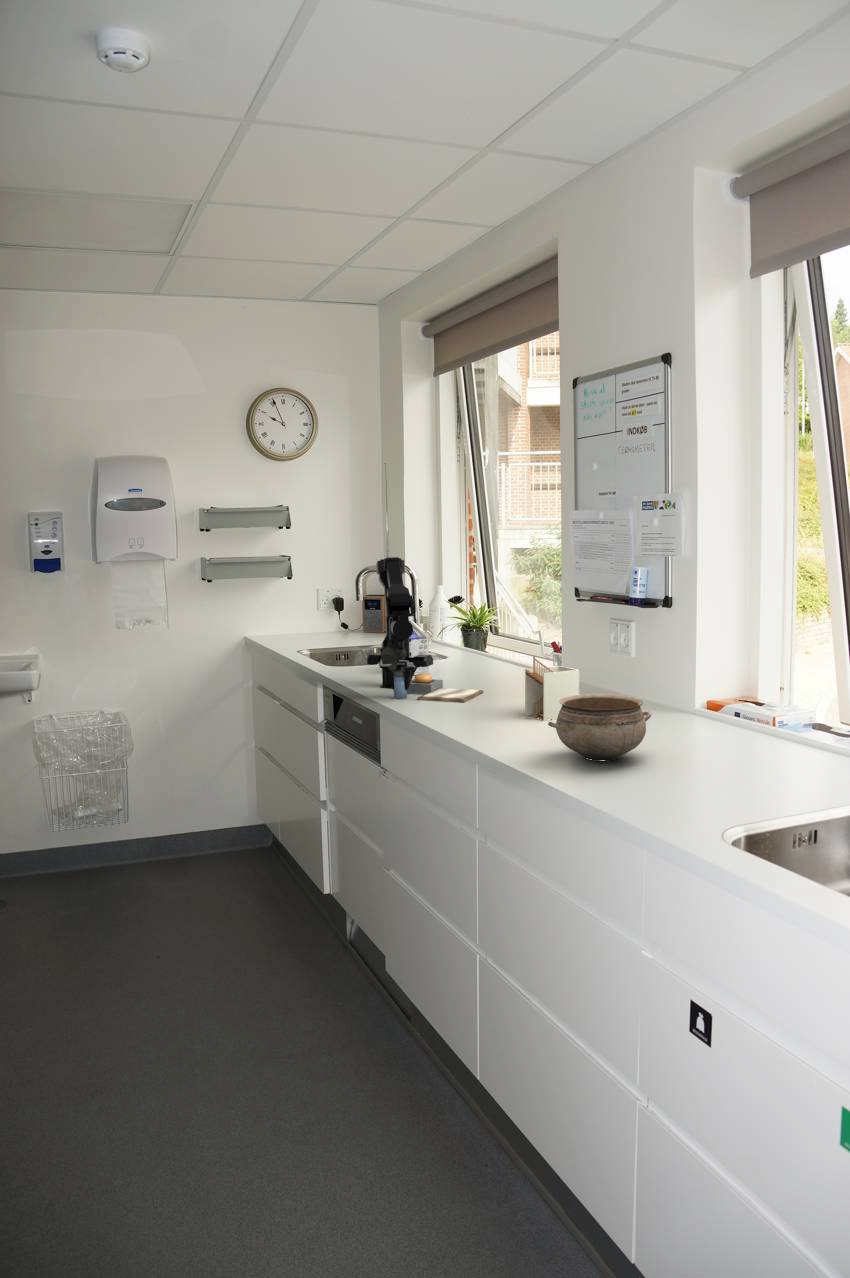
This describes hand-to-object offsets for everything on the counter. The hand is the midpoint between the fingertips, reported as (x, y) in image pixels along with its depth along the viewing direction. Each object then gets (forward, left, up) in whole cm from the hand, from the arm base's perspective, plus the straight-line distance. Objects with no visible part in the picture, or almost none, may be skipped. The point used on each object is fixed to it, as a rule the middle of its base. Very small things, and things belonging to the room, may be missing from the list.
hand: (400, 689), depth 284 cm
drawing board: (+13, +7, -2) cm, 15 cm away
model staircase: (+48, -11, -3) cm, 49 cm away
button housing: (+2, +12, -2) cm, 12 cm away
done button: (+2, +12, +1) cm, 12 cm away
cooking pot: (+70, -51, -3) cm, 87 cm away
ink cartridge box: (-14, +41, -3) cm, 43 cm away
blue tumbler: (0, 0, -2) cm, 2 cm away
